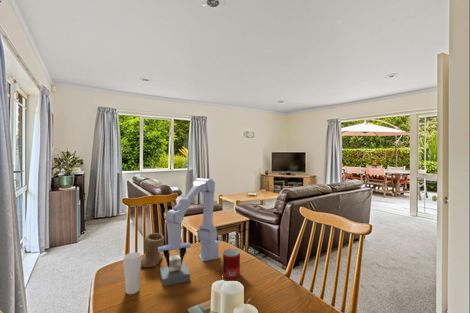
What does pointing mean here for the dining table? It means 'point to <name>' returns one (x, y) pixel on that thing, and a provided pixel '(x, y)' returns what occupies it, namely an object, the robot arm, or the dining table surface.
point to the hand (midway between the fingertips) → (174, 265)
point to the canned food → (231, 263)
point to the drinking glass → (132, 272)
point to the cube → (174, 263)
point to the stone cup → (152, 250)
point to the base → (174, 275)
